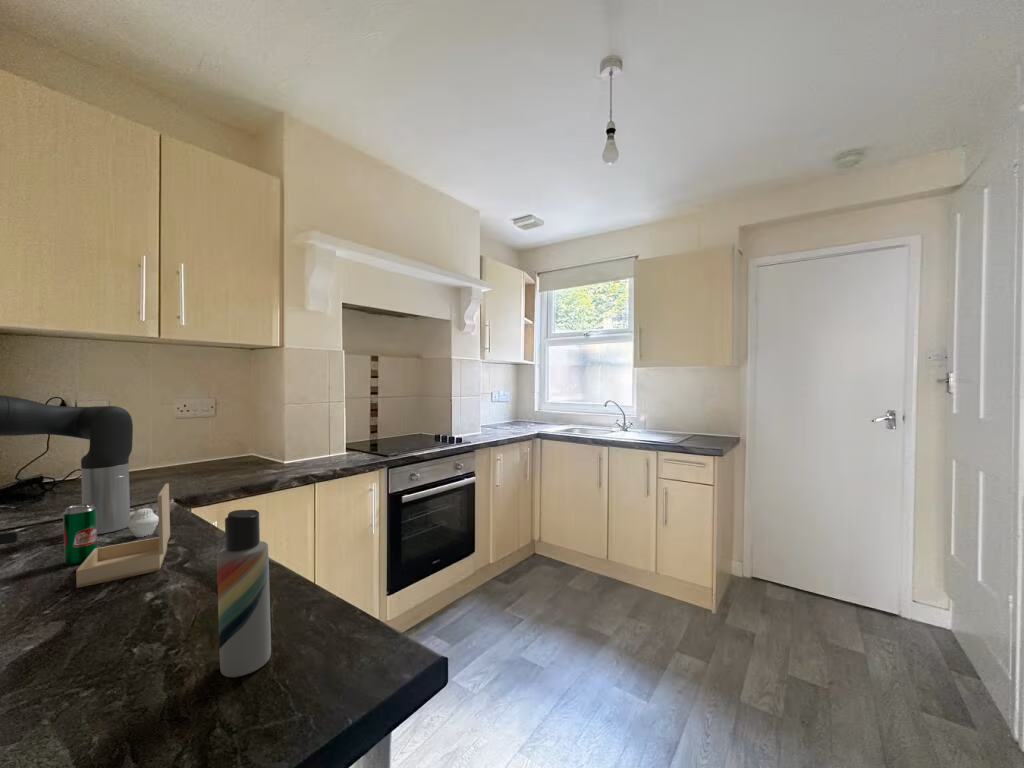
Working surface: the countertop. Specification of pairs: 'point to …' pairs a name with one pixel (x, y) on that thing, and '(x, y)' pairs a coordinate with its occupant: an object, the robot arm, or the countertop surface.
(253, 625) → the lotion bottle
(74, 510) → the soda can
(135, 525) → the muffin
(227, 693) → the countertop surface
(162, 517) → the mailer box
